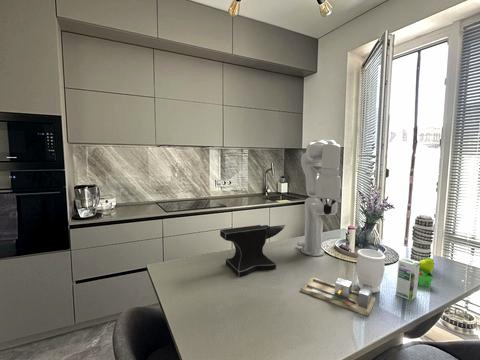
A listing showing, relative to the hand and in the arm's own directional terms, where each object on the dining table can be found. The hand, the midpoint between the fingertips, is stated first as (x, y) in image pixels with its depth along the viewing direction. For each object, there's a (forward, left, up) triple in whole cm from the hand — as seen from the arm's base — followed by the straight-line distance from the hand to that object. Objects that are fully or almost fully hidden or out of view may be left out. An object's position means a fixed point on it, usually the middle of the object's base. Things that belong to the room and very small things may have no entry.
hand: (327, 213), depth 111 cm
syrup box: (+31, +6, -29) cm, 43 cm away
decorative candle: (+34, +48, -29) cm, 66 cm away
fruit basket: (+35, +24, -29) cm, 52 cm away
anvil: (-30, -11, -29) cm, 43 cm away
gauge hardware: (+10, -12, -28) cm, 32 cm away
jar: (+18, +3, -29) cm, 35 cm away
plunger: (+12, -14, -28) cm, 33 cm away
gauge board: (+10, -12, -29) cm, 33 cm away
